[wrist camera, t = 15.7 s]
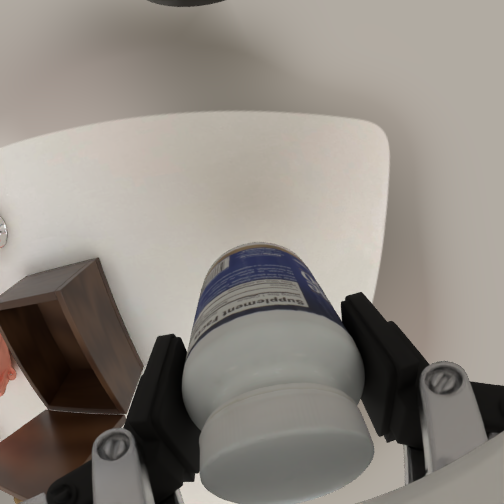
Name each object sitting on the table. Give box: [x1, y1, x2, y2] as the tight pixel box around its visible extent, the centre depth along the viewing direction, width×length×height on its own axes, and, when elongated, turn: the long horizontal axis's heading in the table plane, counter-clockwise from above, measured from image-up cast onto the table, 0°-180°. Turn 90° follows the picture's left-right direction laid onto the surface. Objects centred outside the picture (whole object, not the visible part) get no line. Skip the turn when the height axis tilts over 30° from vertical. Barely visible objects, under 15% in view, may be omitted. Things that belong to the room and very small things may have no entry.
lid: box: [0, 410, 126, 504], centre depth 17 cm, size 15×12×5 cm
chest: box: [0, 258, 144, 414], centre depth 26 cm, size 15×12×8 cm
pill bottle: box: [182, 242, 374, 504], centre depth 10 cm, size 5×5×10 cm
